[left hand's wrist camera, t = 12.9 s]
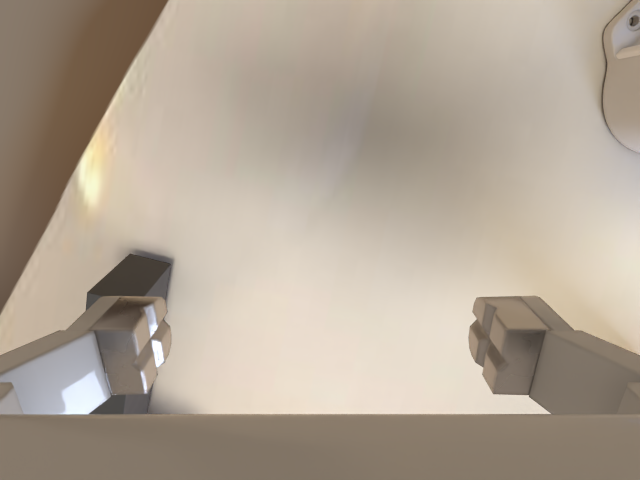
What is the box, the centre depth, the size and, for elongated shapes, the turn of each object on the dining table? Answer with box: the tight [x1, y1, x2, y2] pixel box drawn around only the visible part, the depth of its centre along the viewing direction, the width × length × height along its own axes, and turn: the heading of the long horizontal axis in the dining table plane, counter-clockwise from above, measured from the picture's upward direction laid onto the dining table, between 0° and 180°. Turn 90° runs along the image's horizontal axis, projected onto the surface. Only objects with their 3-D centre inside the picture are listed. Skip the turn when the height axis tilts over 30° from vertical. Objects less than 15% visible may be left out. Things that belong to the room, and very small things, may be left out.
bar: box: [86, 254, 171, 414], centre depth 44 cm, size 27×5×9 cm, turn 164°
